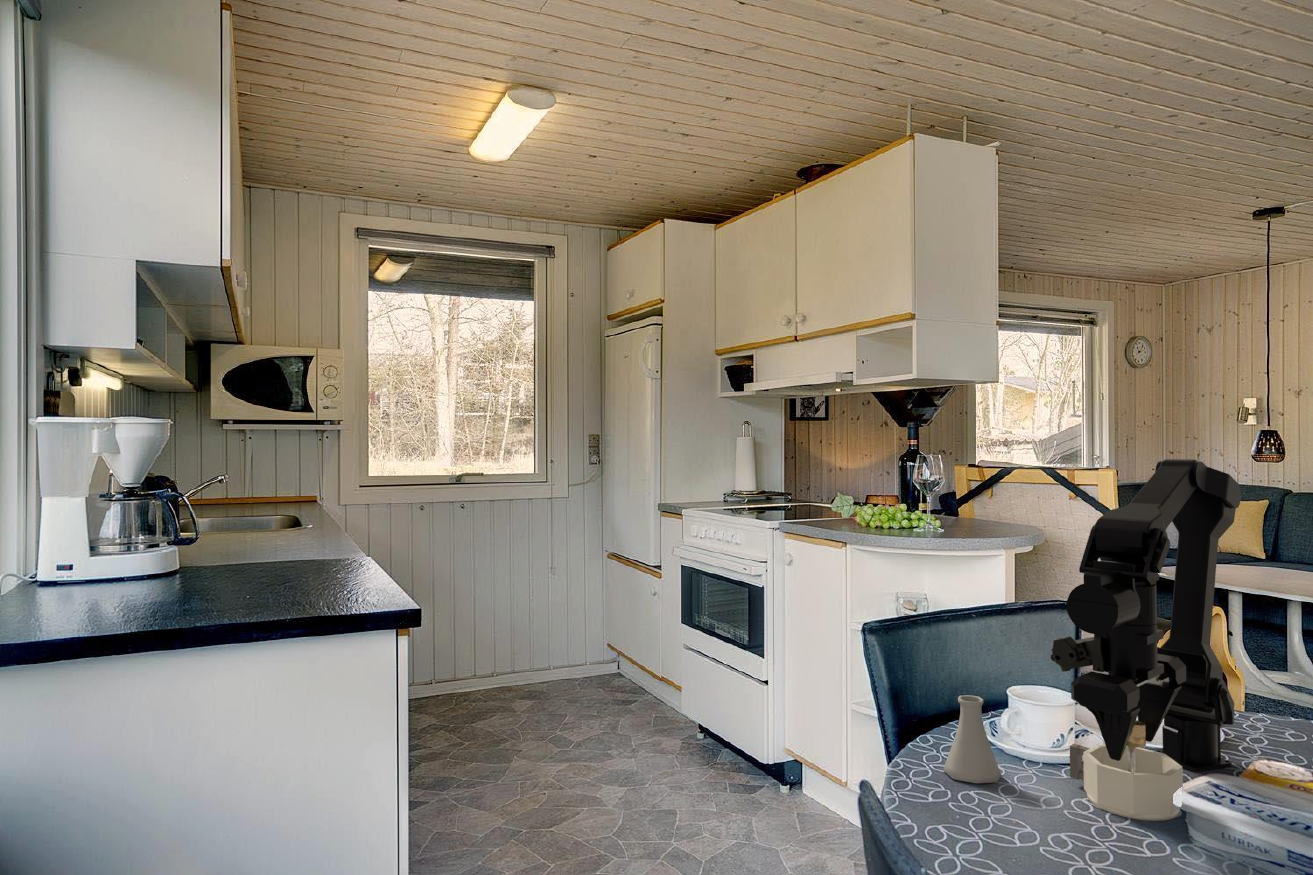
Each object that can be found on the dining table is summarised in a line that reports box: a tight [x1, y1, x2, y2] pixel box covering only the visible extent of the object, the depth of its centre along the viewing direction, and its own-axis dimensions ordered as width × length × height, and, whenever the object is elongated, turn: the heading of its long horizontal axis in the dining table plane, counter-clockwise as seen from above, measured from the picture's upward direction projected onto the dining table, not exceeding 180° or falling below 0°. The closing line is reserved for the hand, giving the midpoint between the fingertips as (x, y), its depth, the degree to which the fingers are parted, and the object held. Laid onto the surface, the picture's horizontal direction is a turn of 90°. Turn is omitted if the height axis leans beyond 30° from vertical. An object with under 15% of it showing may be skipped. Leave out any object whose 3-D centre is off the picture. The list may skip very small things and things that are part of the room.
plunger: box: [1127, 719, 1147, 773], centre depth 101 cm, size 7×7×9 cm
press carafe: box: [1069, 743, 1184, 822], centre depth 101 cm, size 10×12×5 cm
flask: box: [942, 694, 1002, 784], centre depth 110 cm, size 7×7×10 cm
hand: (1131, 749), depth 101 cm, fingers open, 9 cm apart
